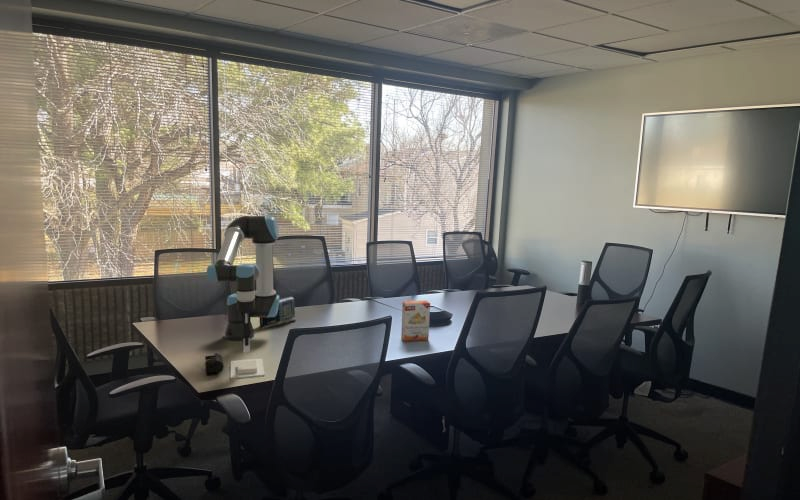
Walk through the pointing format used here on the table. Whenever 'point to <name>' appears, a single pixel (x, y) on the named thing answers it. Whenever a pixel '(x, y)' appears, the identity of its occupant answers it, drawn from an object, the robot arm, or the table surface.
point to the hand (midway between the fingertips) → (246, 351)
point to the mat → (235, 374)
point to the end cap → (213, 364)
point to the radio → (280, 314)
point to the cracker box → (415, 320)
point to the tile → (247, 367)
